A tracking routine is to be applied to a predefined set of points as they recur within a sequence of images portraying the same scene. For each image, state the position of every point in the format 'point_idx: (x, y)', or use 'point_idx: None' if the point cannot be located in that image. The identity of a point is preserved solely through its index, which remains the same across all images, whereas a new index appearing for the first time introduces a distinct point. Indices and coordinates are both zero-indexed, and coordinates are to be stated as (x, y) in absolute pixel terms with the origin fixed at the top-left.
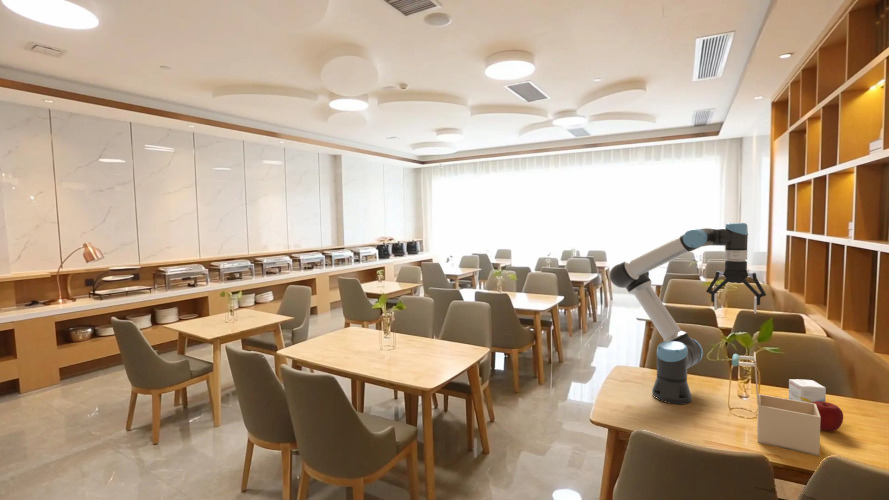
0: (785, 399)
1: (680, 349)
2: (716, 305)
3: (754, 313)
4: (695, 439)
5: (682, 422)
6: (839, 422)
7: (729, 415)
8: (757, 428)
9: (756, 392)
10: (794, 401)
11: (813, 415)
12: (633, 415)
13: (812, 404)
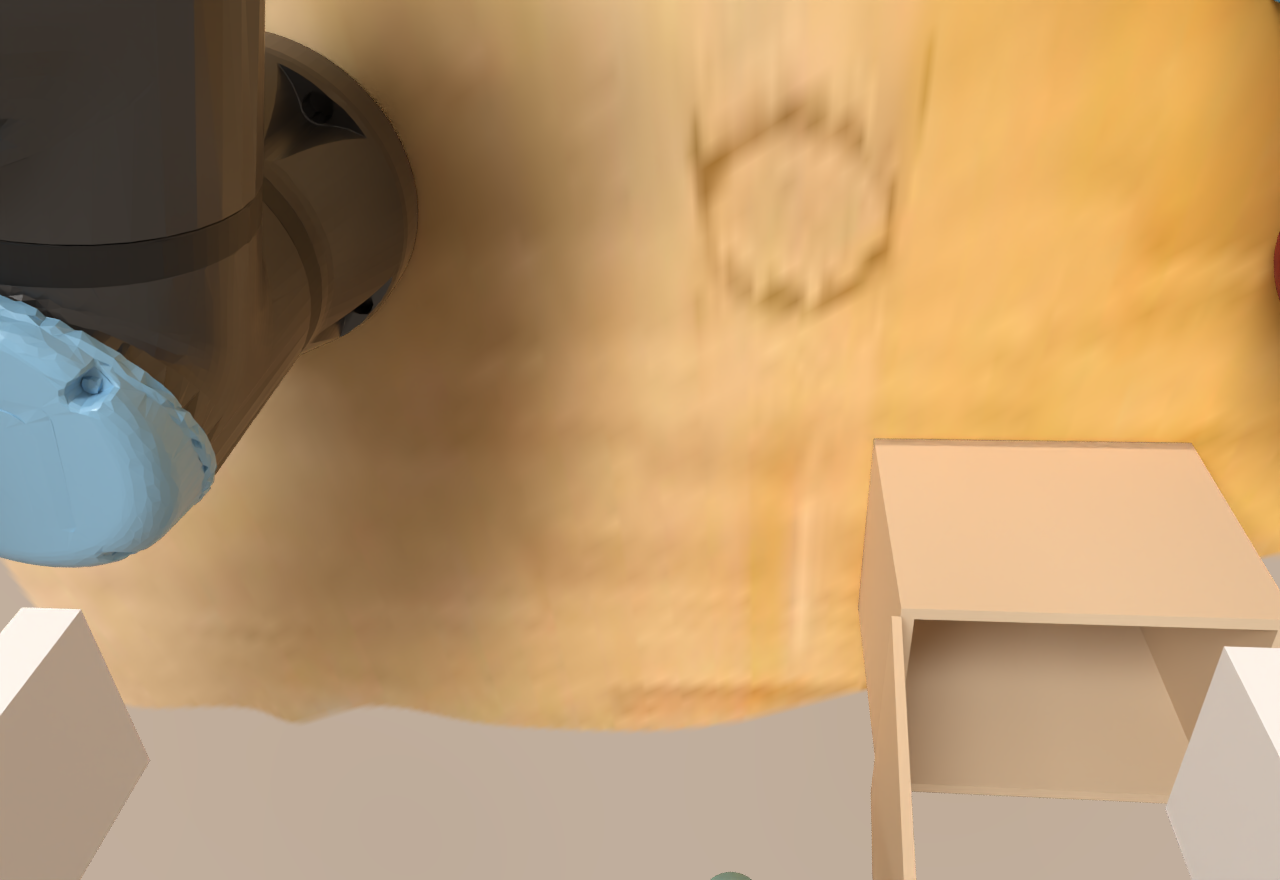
0: (1087, 622)
1: (125, 535)
2: (59, 878)
3: (1178, 806)
4: (573, 702)
5: (469, 563)
6: None
7: (707, 321)
8: (871, 493)
9: (872, 866)
10: (1147, 621)
11: None
12: (220, 601)
13: (1267, 625)
